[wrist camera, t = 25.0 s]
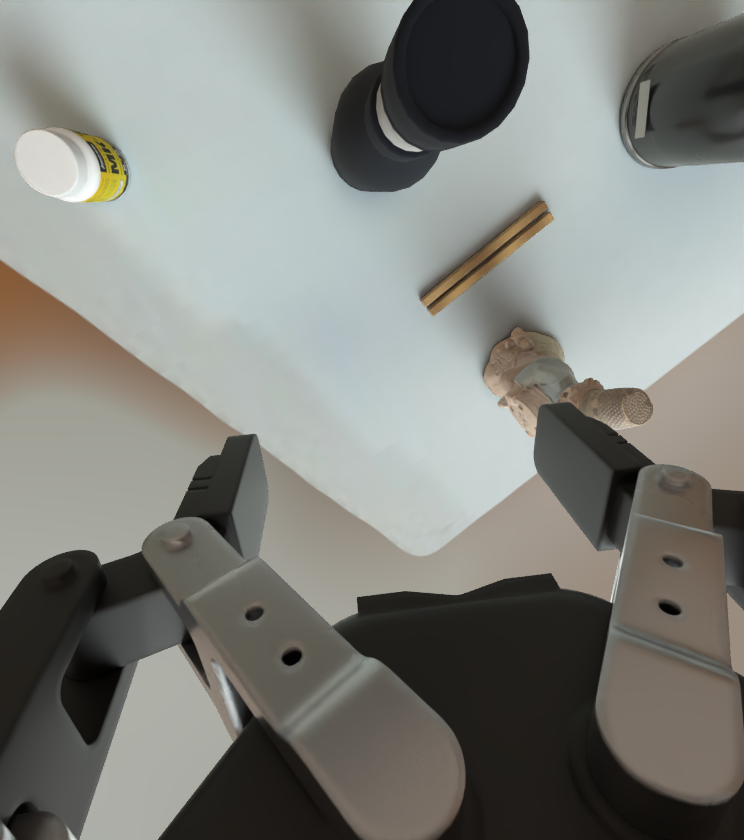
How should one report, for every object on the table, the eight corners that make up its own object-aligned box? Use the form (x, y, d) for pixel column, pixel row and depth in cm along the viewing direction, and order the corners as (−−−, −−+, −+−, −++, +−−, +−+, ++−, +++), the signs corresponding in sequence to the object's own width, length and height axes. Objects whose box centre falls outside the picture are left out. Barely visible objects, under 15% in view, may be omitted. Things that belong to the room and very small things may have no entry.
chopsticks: (540, 200, 42) (544, 200, 42) (550, 218, 43) (554, 219, 43) (419, 299, 45) (421, 301, 45) (431, 314, 46) (433, 316, 46)
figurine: (534, 305, 47) (662, 375, 29) (571, 365, 50) (707, 461, 32) (462, 360, 49) (541, 457, 31) (503, 414, 52) (596, 530, 34)
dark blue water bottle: (354, 86, 37) (434, -178, 11) (419, 135, 39) (624, 16, 13) (317, 163, 40) (303, 105, 13) (380, 206, 41) (483, 234, 15)
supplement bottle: (143, 174, 39) (100, 170, 31) (108, 214, 40) (57, 219, 32) (93, 122, 37) (34, 104, 29) (57, 165, 38) (-9, 158, 30)
